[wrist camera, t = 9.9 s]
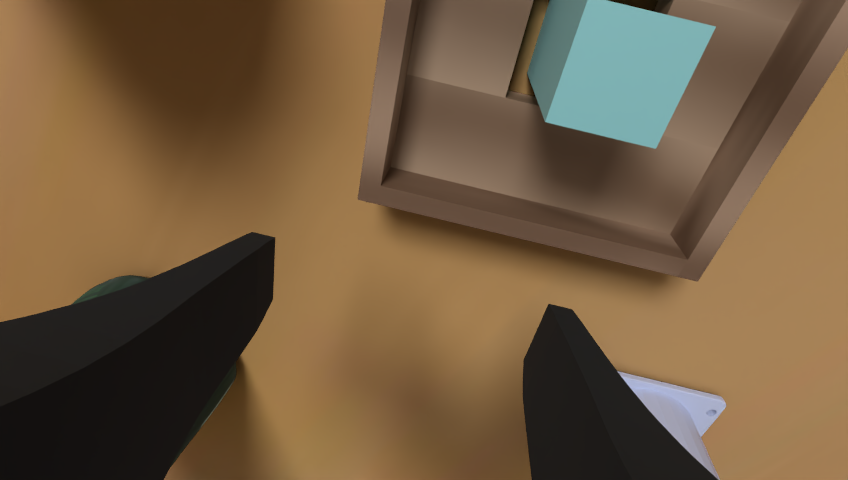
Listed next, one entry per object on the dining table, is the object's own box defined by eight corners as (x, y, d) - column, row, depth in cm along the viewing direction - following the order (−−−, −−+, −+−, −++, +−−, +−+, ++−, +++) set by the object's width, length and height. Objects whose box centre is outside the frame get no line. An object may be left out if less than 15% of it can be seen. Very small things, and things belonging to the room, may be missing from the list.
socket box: (667, 237, 21) (697, 281, 18) (376, 167, 21) (357, 199, 18) (880, -141, 14) (989, -174, 11) (442, -245, 14) (428, -306, 11)
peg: (600, 90, 18) (655, 148, 12) (527, 73, 18) (545, 121, 12) (633, 7, 16) (715, 26, 10) (553, -12, 17) (589, -4, 11)
